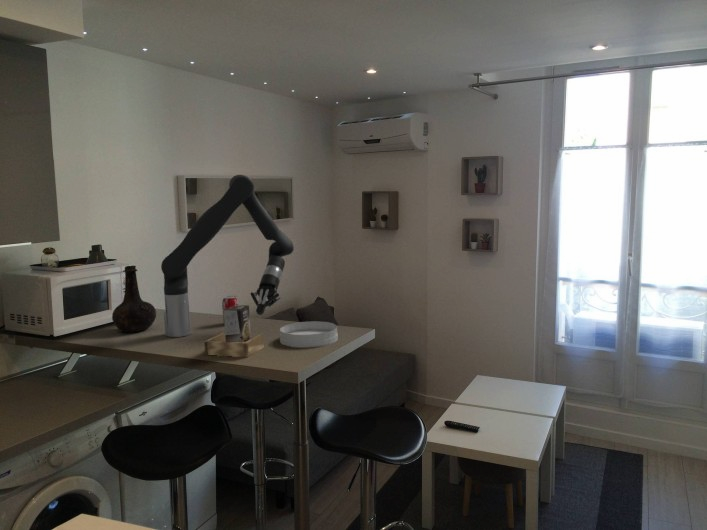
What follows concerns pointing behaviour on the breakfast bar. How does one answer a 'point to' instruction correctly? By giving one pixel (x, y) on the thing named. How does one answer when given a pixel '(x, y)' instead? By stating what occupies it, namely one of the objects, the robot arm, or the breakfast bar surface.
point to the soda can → (229, 303)
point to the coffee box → (237, 324)
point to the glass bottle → (133, 307)
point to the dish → (308, 334)
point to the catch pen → (233, 346)
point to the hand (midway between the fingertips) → (259, 313)
